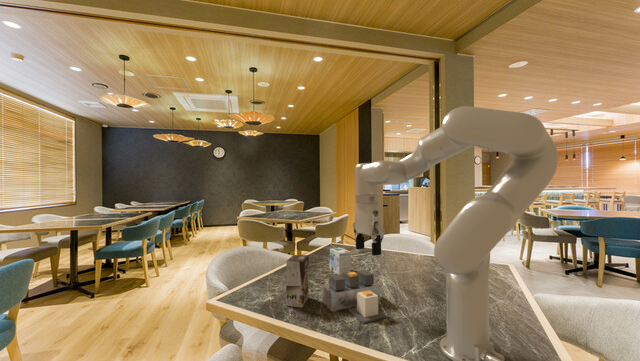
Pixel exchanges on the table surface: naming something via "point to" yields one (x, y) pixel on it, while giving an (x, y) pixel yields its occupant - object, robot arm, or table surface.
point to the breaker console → (346, 295)
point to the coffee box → (297, 280)
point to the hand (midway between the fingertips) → (368, 251)
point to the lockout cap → (367, 303)
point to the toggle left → (337, 282)
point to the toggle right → (365, 277)
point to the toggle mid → (351, 278)
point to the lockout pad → (367, 319)
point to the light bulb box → (340, 260)
